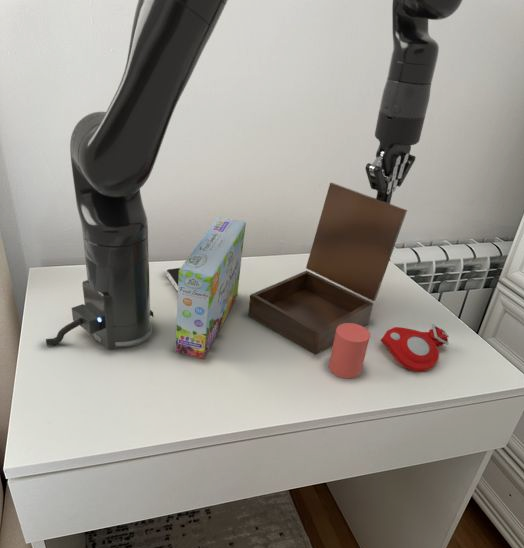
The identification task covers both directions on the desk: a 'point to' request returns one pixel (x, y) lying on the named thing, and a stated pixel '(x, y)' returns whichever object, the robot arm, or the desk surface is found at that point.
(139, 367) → the desk surface
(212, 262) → the snack box
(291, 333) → the chest
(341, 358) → the pink cylinder
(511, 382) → the desk surface
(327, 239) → the lid
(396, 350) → the red rounded piece
